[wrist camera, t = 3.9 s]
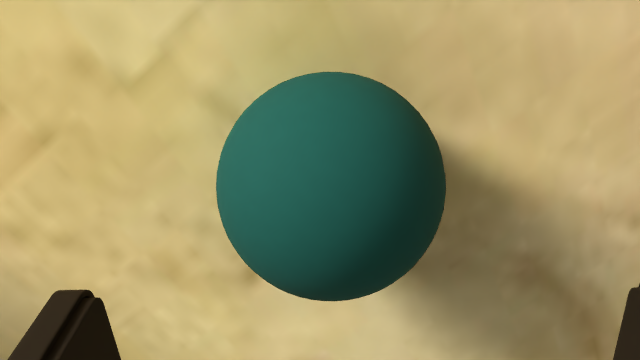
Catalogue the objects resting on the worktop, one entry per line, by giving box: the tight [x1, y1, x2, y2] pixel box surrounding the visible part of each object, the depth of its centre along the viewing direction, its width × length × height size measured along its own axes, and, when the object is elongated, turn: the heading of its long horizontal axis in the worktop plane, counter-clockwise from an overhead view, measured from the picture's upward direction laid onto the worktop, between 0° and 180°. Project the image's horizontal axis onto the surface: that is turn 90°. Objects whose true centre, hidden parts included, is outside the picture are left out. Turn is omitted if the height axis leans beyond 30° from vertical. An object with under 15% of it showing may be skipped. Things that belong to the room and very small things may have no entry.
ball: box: [216, 72, 446, 301], centre depth 16 cm, size 6×6×6 cm
